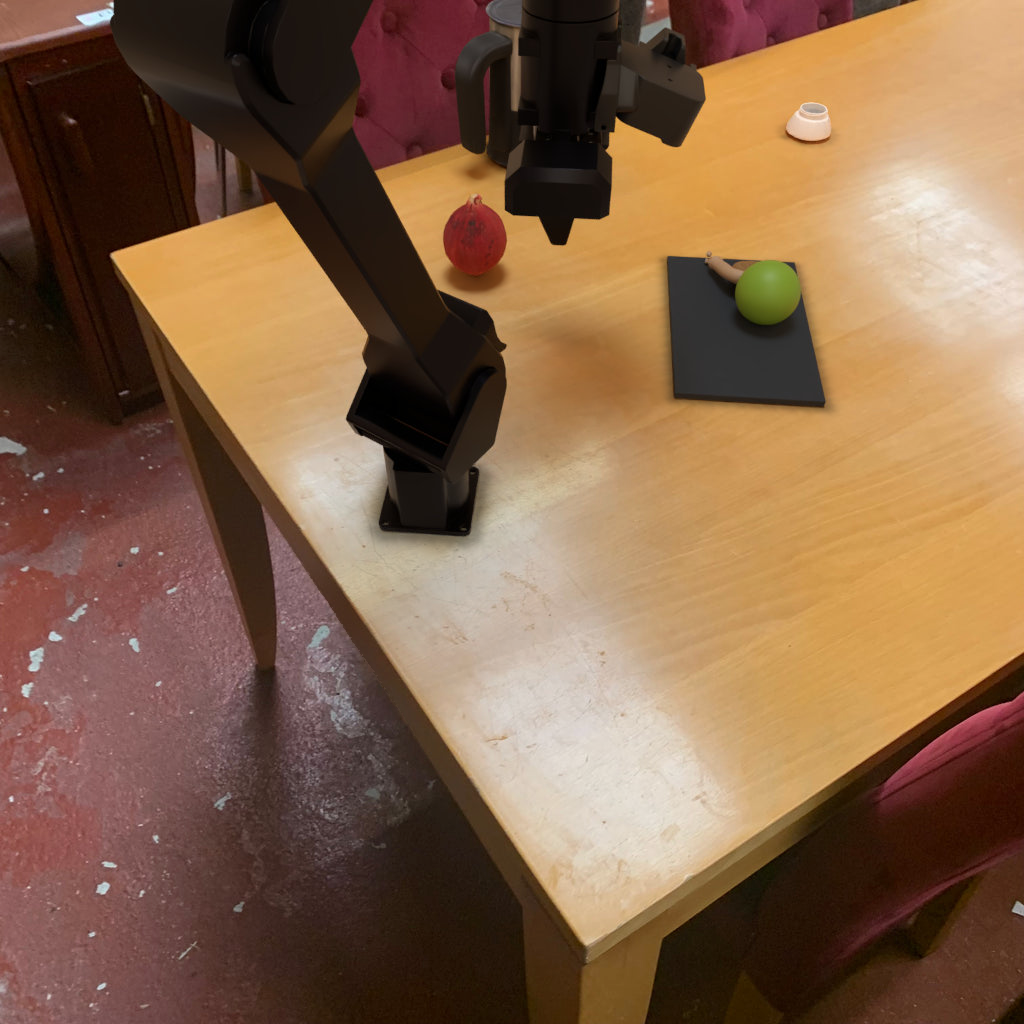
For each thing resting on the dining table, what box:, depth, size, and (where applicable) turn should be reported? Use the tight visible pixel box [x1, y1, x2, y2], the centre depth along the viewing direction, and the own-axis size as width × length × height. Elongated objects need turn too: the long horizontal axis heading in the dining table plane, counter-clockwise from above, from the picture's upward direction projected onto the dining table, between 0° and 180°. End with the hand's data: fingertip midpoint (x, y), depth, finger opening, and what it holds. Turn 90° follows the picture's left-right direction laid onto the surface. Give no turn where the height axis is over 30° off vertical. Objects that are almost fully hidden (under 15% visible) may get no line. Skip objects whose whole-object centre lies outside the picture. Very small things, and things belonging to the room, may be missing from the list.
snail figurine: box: [705, 250, 802, 325], centre depth 79 cm, size 5×6×12 cm
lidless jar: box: [785, 101, 833, 142], centre depth 102 cm, size 5×3×5 cm
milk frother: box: [454, 0, 522, 168], centre depth 92 cm, size 14×16×15 cm
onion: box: [442, 192, 508, 277], centre depth 81 cm, size 6×6×8 cm
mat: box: [666, 255, 827, 408], centre depth 78 cm, size 20×12×1 cm, turn 175°
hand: (558, 242), depth 64 cm, fingers closed
